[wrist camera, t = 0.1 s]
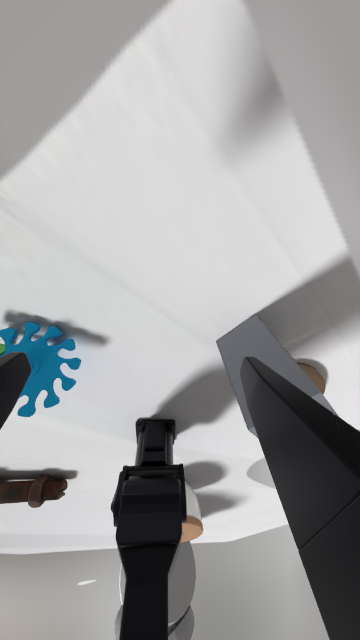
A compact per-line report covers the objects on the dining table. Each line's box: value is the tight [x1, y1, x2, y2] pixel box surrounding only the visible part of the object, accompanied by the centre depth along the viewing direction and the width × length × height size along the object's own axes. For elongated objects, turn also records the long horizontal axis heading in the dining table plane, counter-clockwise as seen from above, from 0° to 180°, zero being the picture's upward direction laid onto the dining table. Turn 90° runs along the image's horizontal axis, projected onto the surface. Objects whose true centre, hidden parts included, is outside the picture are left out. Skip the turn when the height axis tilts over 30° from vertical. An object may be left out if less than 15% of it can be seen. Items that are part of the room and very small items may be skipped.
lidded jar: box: [181, 481, 203, 543], centre depth 41 cm, size 11×11×9 cm
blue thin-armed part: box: [0, 322, 81, 417], centre depth 24 cm, size 11×6×10 cm
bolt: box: [0, 475, 67, 508], centre depth 38 cm, size 6×5×15 cm
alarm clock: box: [115, 541, 196, 640], centre depth 43 cm, size 16×9×22 cm, turn 60°
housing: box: [216, 314, 339, 438], centre depth 21 cm, size 6×6×12 cm
